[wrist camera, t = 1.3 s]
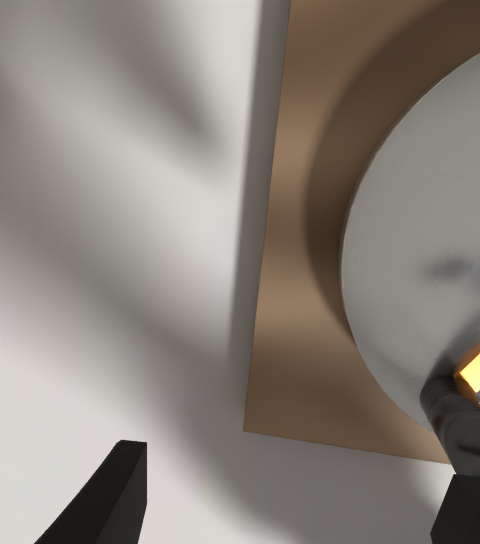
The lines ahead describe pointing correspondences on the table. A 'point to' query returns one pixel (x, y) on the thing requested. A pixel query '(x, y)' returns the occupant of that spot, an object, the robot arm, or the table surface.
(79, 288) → the table surface
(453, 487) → the robot arm
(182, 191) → the table surface
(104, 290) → the table surface
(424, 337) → the dial
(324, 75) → the stand
